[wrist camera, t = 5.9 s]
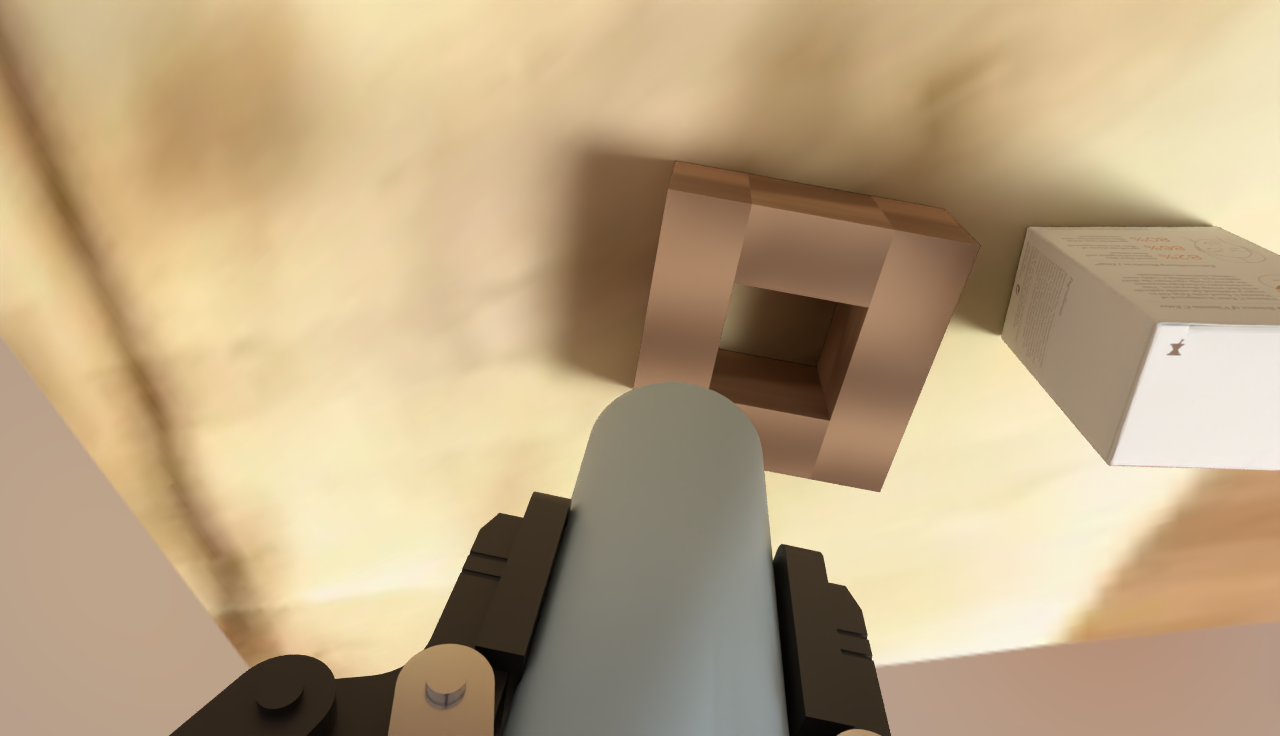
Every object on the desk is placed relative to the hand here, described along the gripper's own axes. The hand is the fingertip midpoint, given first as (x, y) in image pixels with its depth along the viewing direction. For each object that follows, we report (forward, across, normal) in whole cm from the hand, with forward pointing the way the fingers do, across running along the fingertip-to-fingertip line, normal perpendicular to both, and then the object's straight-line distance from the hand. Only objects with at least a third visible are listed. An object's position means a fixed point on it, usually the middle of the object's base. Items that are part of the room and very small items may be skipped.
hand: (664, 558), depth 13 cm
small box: (+22, -18, -1) cm, 29 cm away
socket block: (+22, -5, +3) cm, 23 cm away
